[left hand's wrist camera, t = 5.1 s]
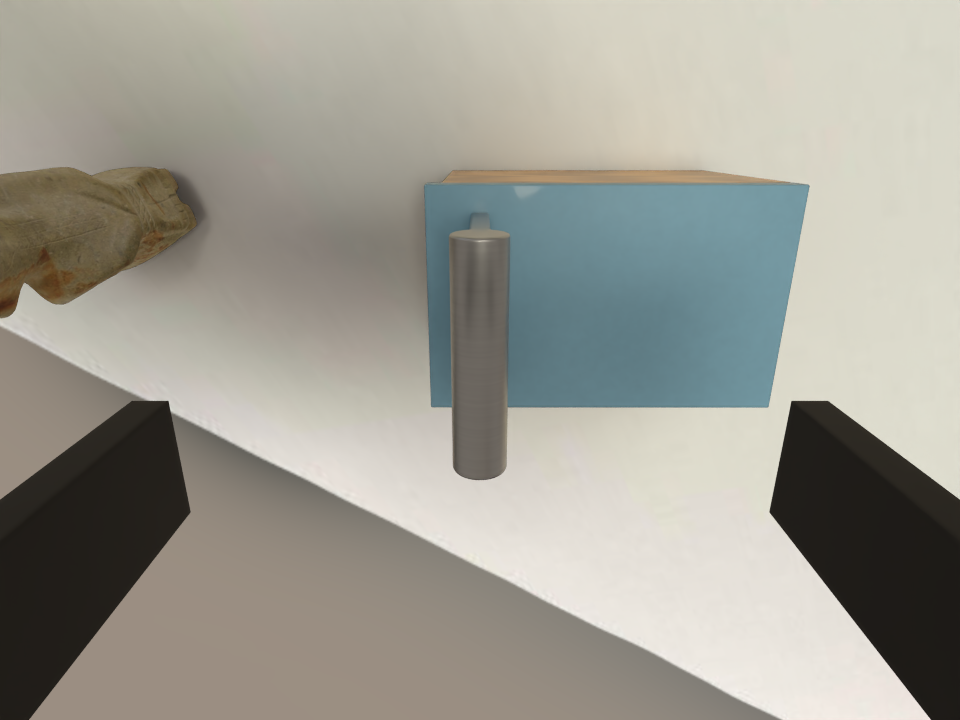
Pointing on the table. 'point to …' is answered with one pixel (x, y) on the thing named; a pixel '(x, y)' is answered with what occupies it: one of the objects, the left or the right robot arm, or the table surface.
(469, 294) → the lid
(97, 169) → the table surface
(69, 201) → the sculpture
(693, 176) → the chest
